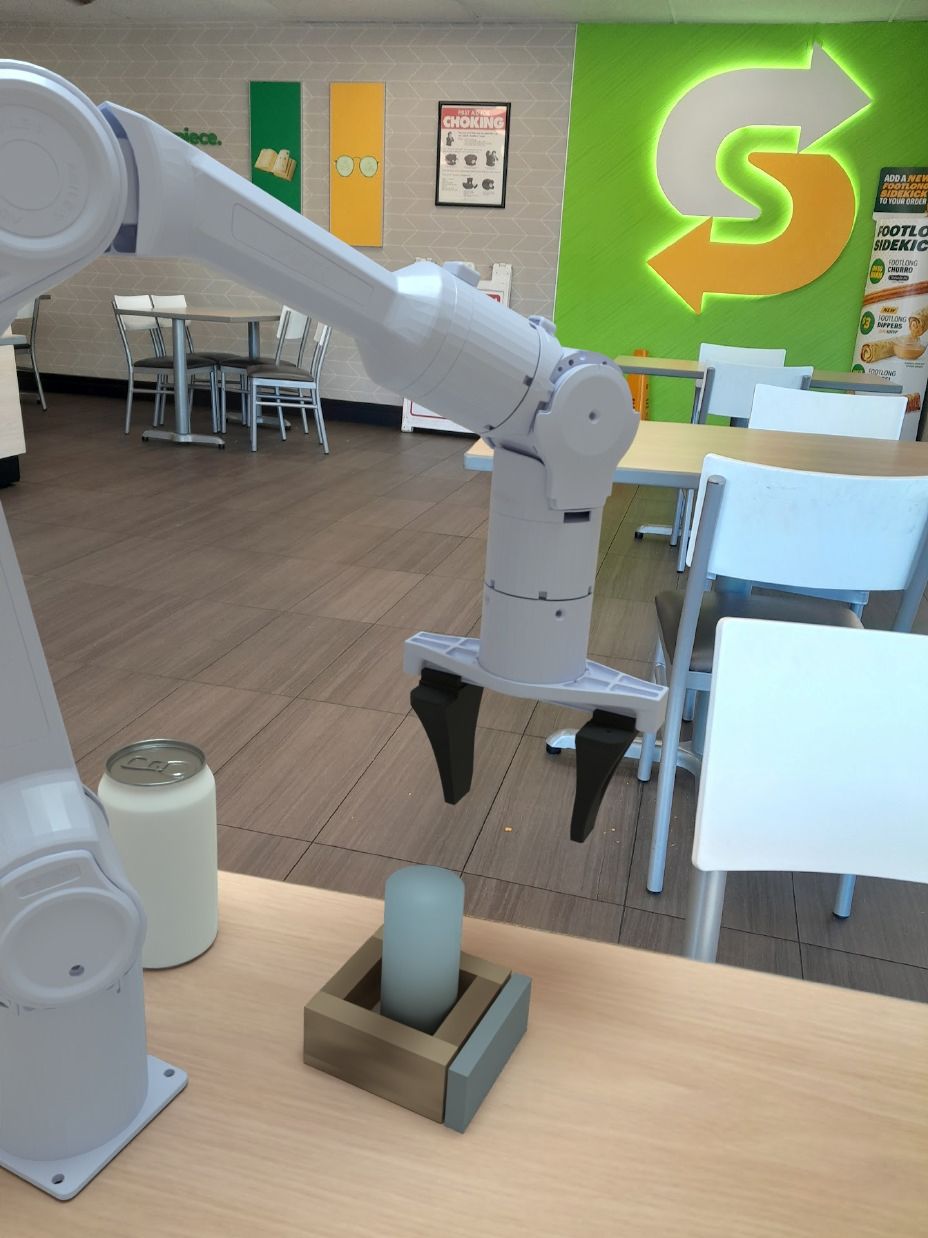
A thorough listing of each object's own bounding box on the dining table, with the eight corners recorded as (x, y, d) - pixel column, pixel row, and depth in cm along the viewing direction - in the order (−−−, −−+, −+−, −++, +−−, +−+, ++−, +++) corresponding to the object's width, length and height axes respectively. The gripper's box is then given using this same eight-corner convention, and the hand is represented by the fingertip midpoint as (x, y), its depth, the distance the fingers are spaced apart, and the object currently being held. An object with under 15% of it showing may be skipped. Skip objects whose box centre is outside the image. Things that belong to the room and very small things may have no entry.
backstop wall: (444, 1126, 48) (448, 1069, 47) (509, 1024, 55) (514, 972, 54) (462, 1135, 47) (467, 1077, 46) (526, 1031, 54) (532, 978, 53)
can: (189, 983, 56) (182, 796, 52) (85, 962, 57) (71, 777, 53) (236, 916, 62) (233, 744, 58) (141, 899, 63) (132, 728, 60)
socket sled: (303, 1062, 51) (303, 1006, 50) (381, 973, 58) (384, 922, 57) (441, 1124, 48) (445, 1066, 47) (507, 1022, 55) (512, 969, 54)
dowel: (364, 1043, 52) (370, 894, 49) (402, 999, 55) (409, 857, 52) (432, 1072, 50) (442, 919, 47) (467, 1024, 54) (478, 879, 51)
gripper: (695, 591, 52) (662, 818, 56) (449, 545, 58) (436, 755, 62) (659, 628, 46) (625, 879, 50) (388, 572, 52) (379, 803, 56)
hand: (517, 814), depth 56 cm, fingers open, 7 cm apart
